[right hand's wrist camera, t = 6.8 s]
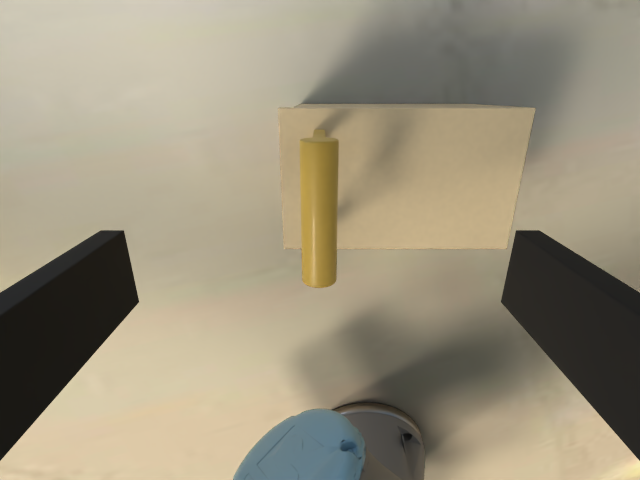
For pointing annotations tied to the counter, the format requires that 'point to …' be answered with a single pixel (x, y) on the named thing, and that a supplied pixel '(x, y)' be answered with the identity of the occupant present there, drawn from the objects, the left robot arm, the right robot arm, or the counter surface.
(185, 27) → the counter surface
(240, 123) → the counter surface
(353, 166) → the lid
